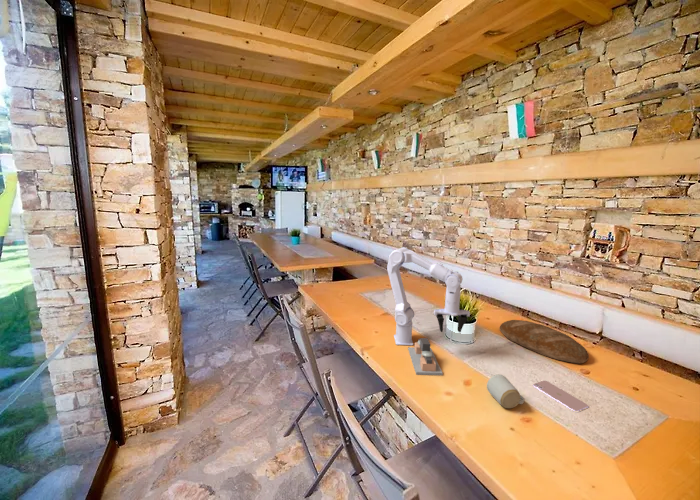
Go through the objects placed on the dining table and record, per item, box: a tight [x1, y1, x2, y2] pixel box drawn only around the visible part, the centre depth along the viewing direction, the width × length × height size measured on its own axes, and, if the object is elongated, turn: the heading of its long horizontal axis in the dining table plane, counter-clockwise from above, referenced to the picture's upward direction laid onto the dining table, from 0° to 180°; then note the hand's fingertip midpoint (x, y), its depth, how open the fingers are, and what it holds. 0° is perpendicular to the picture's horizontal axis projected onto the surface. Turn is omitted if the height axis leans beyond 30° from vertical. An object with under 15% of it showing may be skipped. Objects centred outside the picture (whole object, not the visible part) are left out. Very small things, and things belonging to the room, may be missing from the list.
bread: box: [498, 319, 590, 365], centre depth 137 cm, size 22×37×8 cm, turn 29°
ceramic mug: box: [486, 374, 525, 409], centre depth 98 cm, size 11×8×8 cm
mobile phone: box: [532, 380, 590, 412], centre depth 102 cm, size 8×1×15 cm
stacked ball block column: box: [417, 337, 432, 364], centre depth 121 cm, size 17×4×5 cm, turn 178°
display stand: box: [407, 341, 444, 376], centre depth 121 cm, size 19×10×5 cm, turn 178°
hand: (450, 331), depth 126 cm, fingers open, 7 cm apart
